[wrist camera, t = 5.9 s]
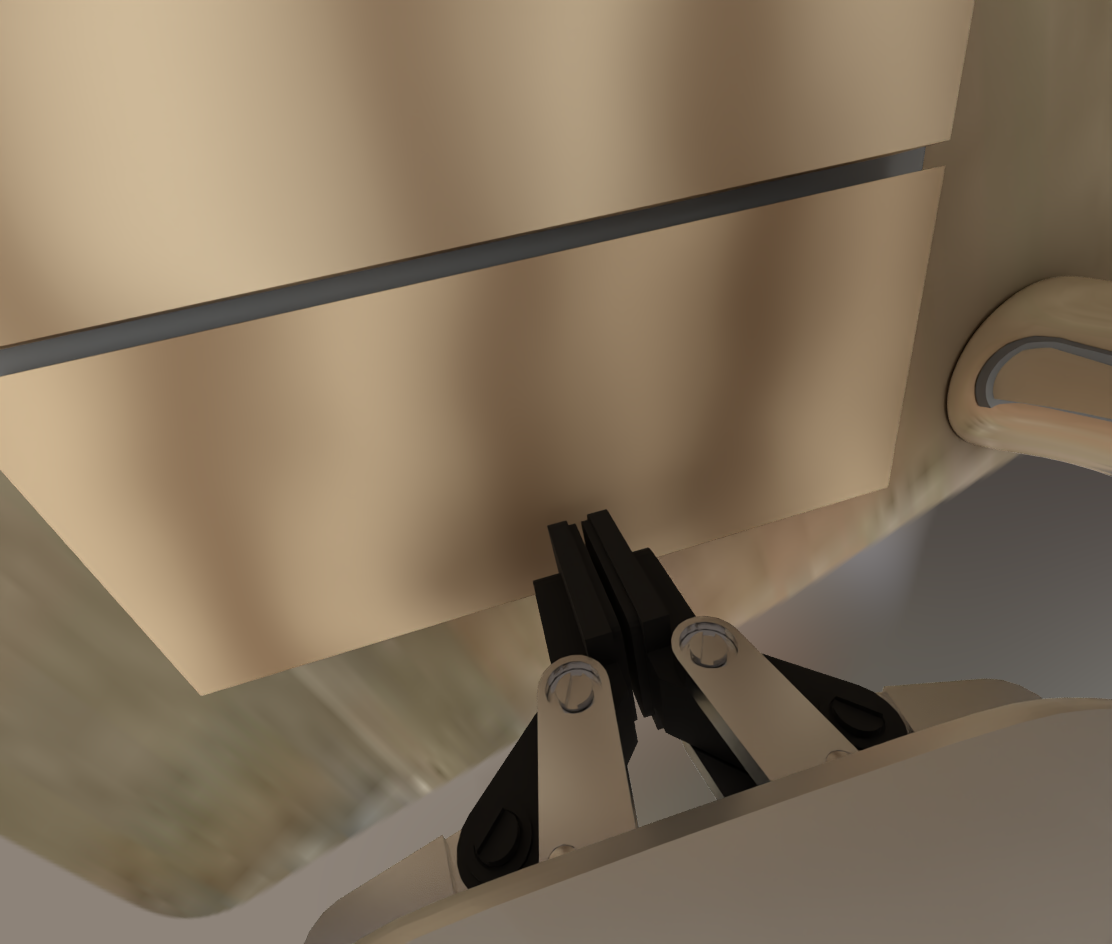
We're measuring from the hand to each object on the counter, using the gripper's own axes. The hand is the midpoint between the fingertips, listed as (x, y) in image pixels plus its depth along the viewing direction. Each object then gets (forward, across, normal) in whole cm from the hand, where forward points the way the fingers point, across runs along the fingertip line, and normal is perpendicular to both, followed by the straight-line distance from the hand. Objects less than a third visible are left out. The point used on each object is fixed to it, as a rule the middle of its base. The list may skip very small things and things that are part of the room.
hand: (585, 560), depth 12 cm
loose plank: (+2, 0, -3) cm, 4 cm away
